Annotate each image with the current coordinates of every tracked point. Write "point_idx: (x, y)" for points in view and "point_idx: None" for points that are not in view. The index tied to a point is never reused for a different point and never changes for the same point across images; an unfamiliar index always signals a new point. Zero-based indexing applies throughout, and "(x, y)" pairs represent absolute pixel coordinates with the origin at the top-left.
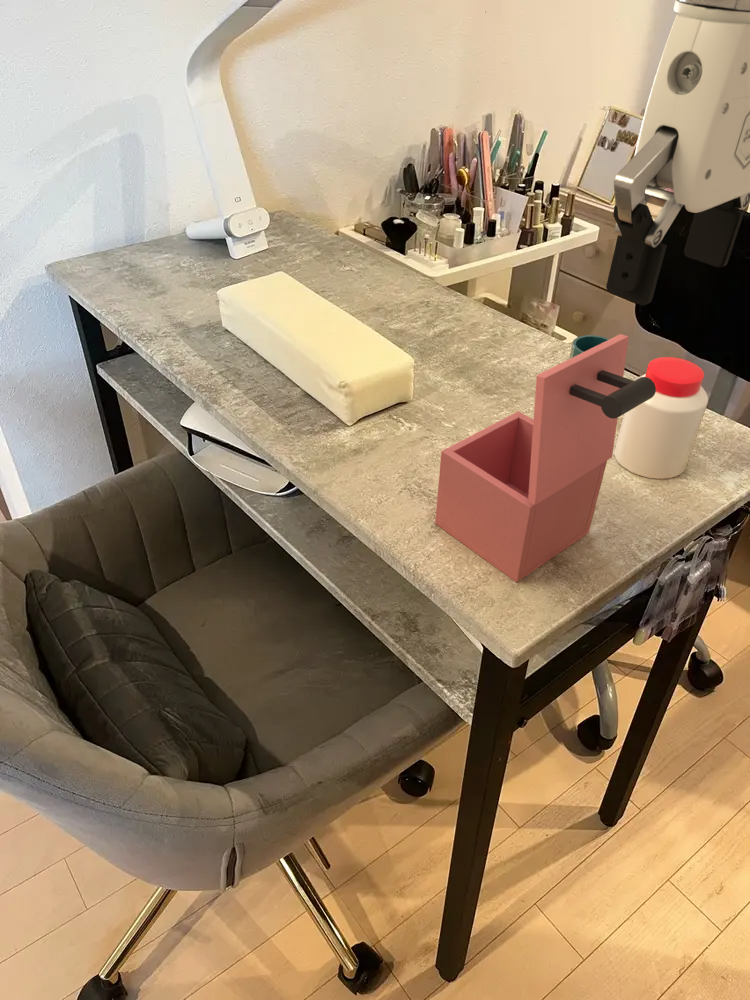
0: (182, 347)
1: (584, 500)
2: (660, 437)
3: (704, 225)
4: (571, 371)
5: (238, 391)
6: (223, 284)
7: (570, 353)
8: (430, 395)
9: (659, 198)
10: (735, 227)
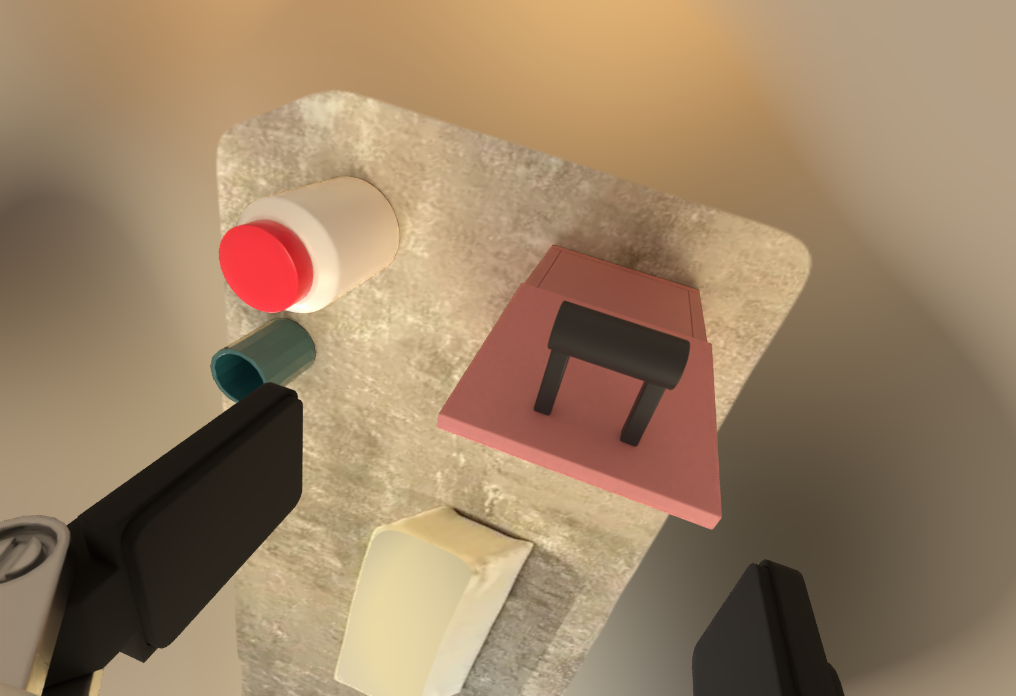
0: None
1: (571, 277)
2: (359, 231)
3: (215, 556)
4: (631, 471)
5: (550, 647)
6: None
7: None
8: (424, 492)
9: None
10: (173, 482)
